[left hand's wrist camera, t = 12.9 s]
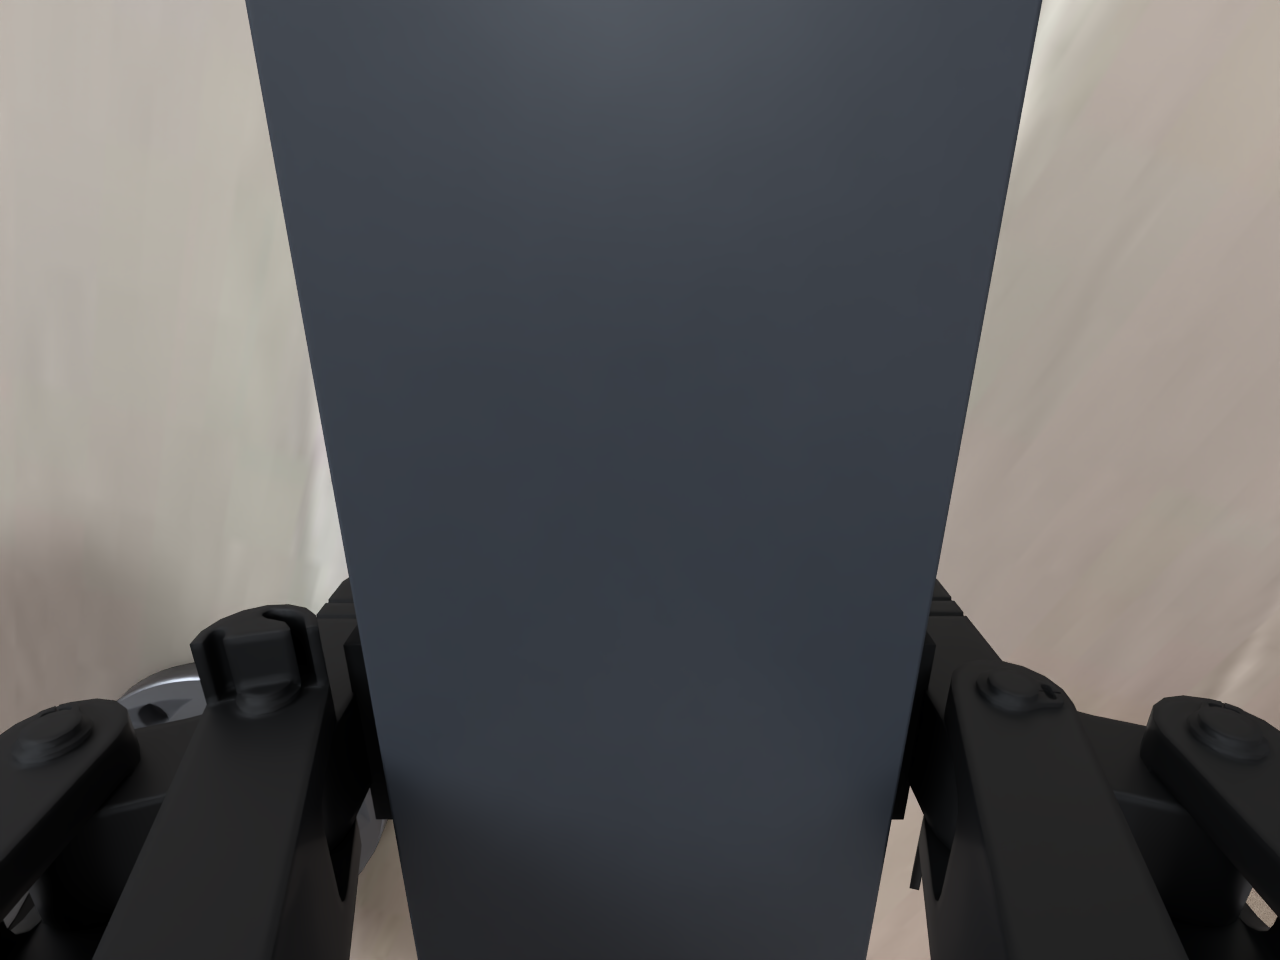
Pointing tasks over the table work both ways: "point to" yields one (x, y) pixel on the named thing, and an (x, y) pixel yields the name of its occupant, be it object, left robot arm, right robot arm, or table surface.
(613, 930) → the bar
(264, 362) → the table surface
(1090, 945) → the left robot arm
